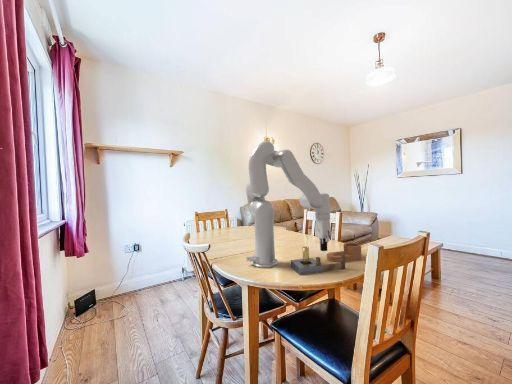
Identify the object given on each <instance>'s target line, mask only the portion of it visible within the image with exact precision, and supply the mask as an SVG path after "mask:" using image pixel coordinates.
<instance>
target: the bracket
mask: <svg viewBox="0 0 512 384" xmlns="http://www.w3.org/2000/svg"><path fill="white" fill-rule="evenodd" d="M342 254H343V255H345V263H346V262H352V261H353V262H354V261H360V260H362V258H363V257H362V244H360V243H357V242H345V243H343V250H340V251H331V252H327V253H326V261H328V262H330V263H341V259H340V255H342Z"/></svg>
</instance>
